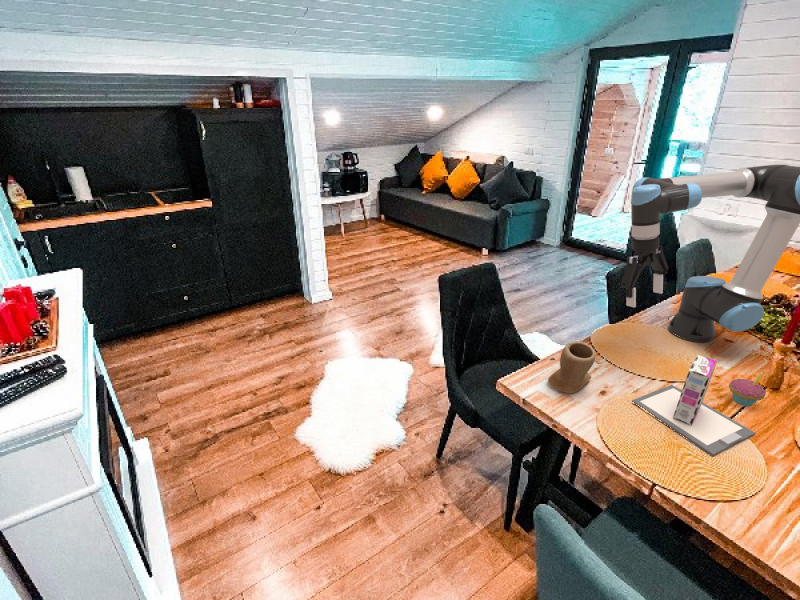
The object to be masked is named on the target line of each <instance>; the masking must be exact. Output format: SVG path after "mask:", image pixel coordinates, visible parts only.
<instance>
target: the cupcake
mask: <svg viewBox="0 0 800 600" xmlns="http://www.w3.org/2000/svg"><path fill="white" fill-rule="evenodd" d="M764 373H765V371H763V372H760V374H759V375H758V376H757V377H756V379H755V380H750V379H745V378H737V379H732V380H731V381H730V382H729V384H728V389H729V391H730V392H732V393H731V394H732V401H733V402H734V403H735V404H737V405H739V406H743V407H746V408H747V407H749V408H750V407H752V406H753V405H754V404H755V403H756V402H758V401H759V402H760V401H762V400H764V399H765V396H766V393H767V392H766V391H765V388H763V386H762V385H760V383H759V381H760V380H761V378H762V376H763V375H764Z"/></svg>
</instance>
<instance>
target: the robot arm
mask: <svg viewBox="0 0 800 600" xmlns="http://www.w3.org/2000/svg"><path fill="white" fill-rule="evenodd" d="M631 189H632V190H631V199H630V200H631V201H630V209H631V211H630V213H631V214H630V215H631V217H630V218H631V237H632V238H631V250H633V252H634V256H627V259H626V266H625V269H624V272H623V276H622V280H621V281H620V282H621V283H620V288H624V289H625V297H626V299H625V301H626V302H625V303H626V304H625V305H626V306H627V307H631V308H636V307H637V301H636V300H637V299H636V298H637V293H636V292H637V289H636V287H635V286H636V283H637V281H638V280H639V277H640V275H641V272H642V271H643V270H644V269H645V268H646V267H647V266H648V265H649V266H650V267H651V269H652V270H653V271H654V272H655V273H653V279H652V280H653V285H652V286H653V288H652V290H653V293H655V294H663V293H664V291H663V290H664V275H667V274H668V270H669V266H668V263H667V260H666V257H665V255H664V250H663V249H664V247H663V246H662V245H660V236H659V235H660V234H661V232H660V230H661V229H660V228H661V226H660V225H661V224H660V223H661V222H660V221H661V215H665V214H671V213H676V212H681V211H687V210H689V209H692V208H696V207H697V206H699V205H700V203H701V202H702V199H703V198H704V199H706V198H715V197H716V198H717V197H727V196H733V197H735V198H739V199H740V198H750V199H757V200H761V201H765V202H766V203H765V206H764V209H765V211H766V216H765V217H764V219H763V221H762V223H761V225H760V226H759V228H758V231H757V232H756V234H755V236H754V237H753V240H752V242H751V243H750V245H749V248H747V251H746V252H745V255H743V258H742V259H741V262H740V264H739V265H738V267H737V269H736V271H735V273H734V274H733V277H732V279H731V280H730V281H729V282H726V280H724V279H723V278H719V277H714V276H708V275H697V276H690V277H689V278H688V279H687V281H686V283H685V286H684V288H683V293H682V296H681V300H680V303H679V304H680V305H679V307H678V311H677V312H676V313H675V315H674V316H673V317H672V318H671V320H670V321H669V323H668V327H667V330H668V331H669V333H671V332H672V333H674V334H676V335H678V336H680V337H682V338H685V339H687V340H686V341H689V342H693V343H694V342H695V343H708V342H711V341H713V340H714V338H715V335H716V327H715V325H716V324H718V325H720V326H721V327H722V328H723V329H728V330H729V331H731V332H735V333H737V332H744V331H747V330H749V329H752V328H753V327H756V325H757V324H758V323H760V322H761V320H762V319H763V318H764V315H765V309H764V307H763V306H762V305H761V303H762V301H763V299H764V295H763V293H762V289H763V288H764V286H765V284H767V283H766V282H767V281H768V279H769V277H770V276H771V274H772V272H773V271H774V269H775V267H776V265H777V264H778V262H779V260H780V259H781V256H782V255H783V254H784V251H785V250H786V248H787V246H788V244H789V243H790V241H791V240H792V238H793V236H794V234H795V232H796V231H797V230H798V227H799V226H800V166H795V165H787V164H767V165H760V166H750V167H742V168H738V169H736V170H735V171H731V172H730V171H729V172H720V173H718V172H717V173H708V174H698V175H697V174H696V175H684V176H675V177H674V176H673V177H663V178H653V177H645V176H644V177H641V178H639V179H637V180H636V181H635V183H634V184H633V186H632V188H631ZM715 323H716V324H715ZM672 333H671V334H672ZM682 338H681V339H682ZM685 339H684V340H685Z"/></svg>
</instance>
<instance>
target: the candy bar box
mask: <svg viewBox="0 0 800 600" xmlns="http://www.w3.org/2000/svg"><path fill="white" fill-rule="evenodd" d="M717 362H718V360H715V359H714V358H713V359H712V358H710V357H705V356H703V355H699V354H698V355H697V356H696V358H695V359H694V361H693V362H692V364H691V366H690V368H689V370H688V373H687V375H686V379H685V381H684V385H683V387H682V389H681V390H682V393H681V396H680V399H679V402H678V404H677V407H676V410H675V413H674V416H673V418H674V419H677V420H679V421H681V422H684V423H686V424H689V425H692V424H693V422H694V420H695V418H696V416H697V413H698V411H699V409H700V407H701V404H702V402H703V401H704V398H705V396H706V394H707V390H708V387H709V385H710V382H711V380H712V377H713V374H714V371H715V368H716V366H717Z"/></svg>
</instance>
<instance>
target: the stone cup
mask: <svg viewBox="0 0 800 600" xmlns="http://www.w3.org/2000/svg"><path fill="white" fill-rule="evenodd" d="M595 360H596V351H595V349H594V348H593V347H592V346H591V345H590V344H588V343H585V342H584V341H575V340H574V341H571V342H569V343H568V342H567V343H566V345H565V346H564V348H563V349H562V351H561V355H560V358H559V366H560V367H559V368H558V369H557V370H556V371H554V372H553V373H552V374H550V376H549V377H548V379H547V383H548V384H549V385H550V386H552V387H553V388H554V389H556V390H558V391H560V392H563V393H567V394H573V393H576V392H577V391H580V390H581V389H582V388H584V386H585V385H586V384H587V383H588V382H589V381H590V380H591V379H592V376H591V374H590V373H589V371H590V369H591V368H592V367H593V366H594V363H595Z"/></svg>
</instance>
